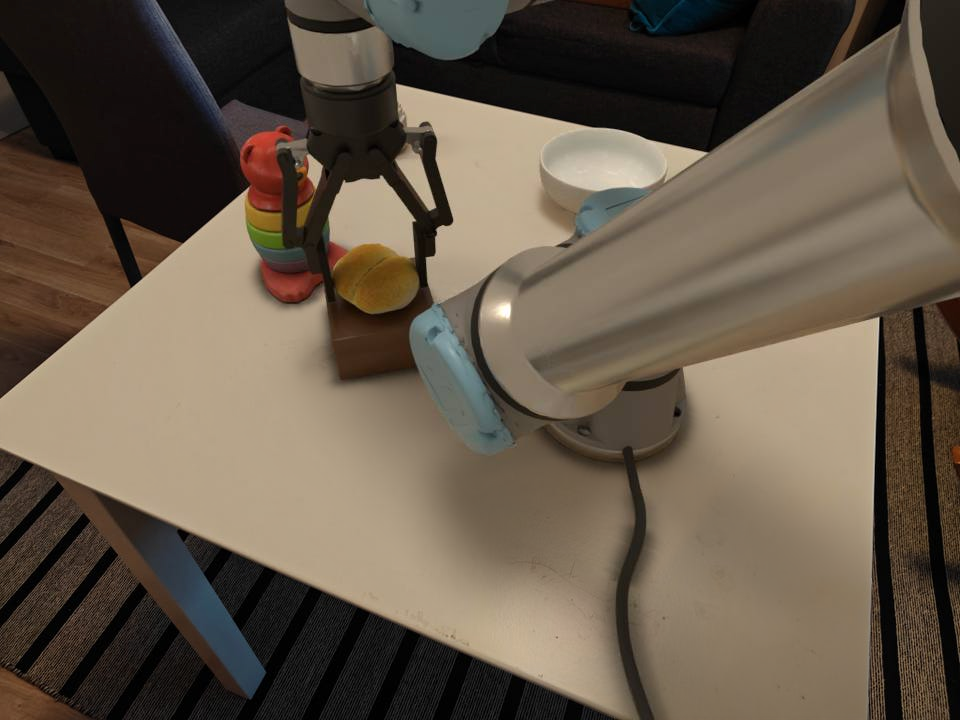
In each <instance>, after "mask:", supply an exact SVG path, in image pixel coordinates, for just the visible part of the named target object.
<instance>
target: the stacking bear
mask: <svg viewBox="0 0 960 720" xmlns="http://www.w3.org/2000/svg"><path fill="white" fill-rule="evenodd" d="M279 138H285V139H287V140H288V141H289V142H292V141H296V140H295V139H294V138H293V137H292V131H291V129H290V127H288V126H286V125H280V126H278V127H276V128H275V130H274V131H262V132H258V133H256V134H254V135H252V136H250V137H249V138H248V139H247V140H246V141H245V143H244V145H242V147H241V149H240V156H239V158H240V159H239V162H240V167H241V170H242V173H243V175H244V177H245V178H246V180H247V181H248V182H249V183H250V185H249V187H248V190H247V192H246V195H245V197H244V212H245V224H246V230H247V234H248V237H249V240H250V242H251V244H252V246H253V247H254V249H255V251H256V252H257V254H258V256H259V257H261V262H260V263H261V265H260V270H261V271H260V272H261V277H262V280H263V283H264V285H265V286H266V289H267V290H268V291H269V292H270V293H271V294H272V295H273V296H274V297H276V298H277V299H279V300H280V301H281V302H284V303H298V302H300V301H302V300H305V299H307V298H308V297H309V296H310V295H311V293H312V292H313V290H314V289H315V287H316V286H317V285H319V284H320V283H322V282H323V276H322V273H321V274H314V275H312V274H311V272H310V271H309V267H308V262H307V258H306V254H305V251H304V250H303V249H302V248H300V247H294V248H292V249H287V248H285V247H284V246H283V244H282V232H281V210H282V172H281V170H280V167H279V165H278V162H277V158H276V146H275V143H276V141H277V139H279ZM309 171H310V163H309V159H308V155H307V156H305V158H304V165H303V167H302V168H301V169H299V170H297V175H298V202H297V228H301V225H304V223H305V220H306V217H307V214H308V211H309V209H310V206H311V203H312V200H313V197H314V194H315V192H316V189H317V187H316V186H315V185H314V183H313V181H312V180H311V179H310V177H308V175H309ZM322 234H323V237H324V242H325V247H326V252H327V257H328V262H329V267H330V270H333V268H334V266H335V264H336V263H337V262H338V261H339V260H340V259H341V258H343V257H344V256H345V255H346V254H347V253H348V252H349V251H348V250H346V249H345V248H343V247H341V246H340V245H339V244H337V243H335V242H333V241H331V240H330V238H331V237H330V236H331V227H330V218H329V216H328V219H327V221H326V224H325V227H324V229H323V232H322Z"/></svg>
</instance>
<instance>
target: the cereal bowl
mask: <svg viewBox="0 0 960 720" xmlns="http://www.w3.org/2000/svg"><path fill="white" fill-rule="evenodd" d="M538 164H539V165H538V166H539V168H538V169H539V177H540V182H541V184H542V187H543V189H544V190H545V193H546V194H547V195H548V196H549V198H550V199H551V200H552V201H553V202H555V203H556V204H557V205H558V206H559V207H561V208H562V209H565V210H566V211H567V212H571V213H573V214H576V215H577V214H578V213H579V209H580V207H581V205H582V203H583V202H584V201H585V200H586V199H587V198H588V197H589V196H591V195H592V194H594V193H597V192H599V191H602V190H606V189H611V188H619V187H633V188H642V189H647V190H654V189H656V188H657V187H658V186H660V185H661V184H663V183H664V182H666V177H667V173H668V170H669V169H668V168H669V167H668V165H669V163H668V160H667V157H666V155H665V153H664V152H663V150H662V149H661V148H660V147H658V145H656V144H655V143H653V142H652V141H650V140H648V139H646V137H645V138H644V137H642V136H640V135H638V134H635V133H632V132H629V131H625V130H620V129H615V128H607V127H588V128H587V127H585V128H578V129H572V130H569V131H566V132H562V133H559V134H557V135H555V136H553V137H551V138H550V139H549V140H548V141H547V142H545V144H544V145H543V147H542V148H541V151H540V155H539V163H538Z"/></svg>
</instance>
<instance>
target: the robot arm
mask: <svg viewBox="0 0 960 720" xmlns="http://www.w3.org/2000/svg"><path fill="white" fill-rule="evenodd" d="M551 1H554V0H284V1H283V2H284V5H285V6H284V7H285V10H286V16H287V23H288V29H289V34H290V39H291V45H292V50H293V55H294V59H295V64H296V65H295V66H296V69H297V71H298V73H299V75H301V76H300V80H299V84H300V89H301V94H302V100H303V106H304V110H305V115H306V120H307V125H308V127H307V128H308V129H307V132H306V134H305V138H302V139H297V140H295V141H292V142H289V141H288V140H287V139H285V138H279V139H277V141H276V143H275V146H276V158H277V162H278V165H279V167H280V170H281V172H282V210H281V232H282V244H283V246H284V247H285V248H287V249H292V248H294V247H300V248H302V249H303V250H304V251H305V254H306V258H307V262H308V267H309V271H310V272H311V274H312V275H314V274H321V273H322V276H323V280H324V283H323V286H324V285H325V289H326V294H327V299H328V303H329V302H335V301H336V300H335V293H334V287H333V283H332V276H331V272H330V267H329V262H328V257H327V252H326V247H325V242H324V237H323V234H322V232H323V229H324V227H325V224H326V221H327V219H328V217H329V216H330V213H331V211H332V209H333V206H334V203H335V200H336V197H337V195H339V193H340V192H341V189H342V186H343V183H344V184H348V183H355V182H357V181H358V182H359V181H360V180H373V181H374V180H380V179H381V176H382V178H383V179H384V180H385V182H386V183H387V185H388V187H390V188H392V189H393V191H394V193H395V194H396V195H397V197H398V198H399V200H400V201H401V203H402V204H403V205H404V206H405V208H406V210H408V212H409V213H410V215H411V216H412V218H413V219H414V221H411V225H412V226H411V227H412V237H413V250H414V257H415V265H416V268H417V270H418V273H419V284H420V287H421V288H424V287H428V285H429V282H428V269H427V268H428V267H427V258H431V257H435V255H436V253H437V245H436V244H437V243H436V237H437V236H438V231H437V229H438V228H441V227H442V226H444V227H450V226H452V225H453V223H454V216H453V213H452V209H451V205H450V203H449V199H448V197H447V196H448V195H447V192H446V190H445V186H444V183H443V182H444V181H443V180H442V179H443V178H442V176H441V172H440V169H439V166H438V163H437V148H438V138H437V135H436V133H435V131H434V128H433V125H432V124H431V122H429V121H422V122H420V123H419V125H418V126H407V127H403V125H402V123H401V122H400V120H399V114H398V103H399V102H398V103H397V101H398V92H397V91H398V90H397V80H396V79H397V78H396V73H395V71H394V70H393V67H394V66H395V55H394V44H393V43H396V44H401V45H402V46H404V47H405V48H407V49H409V48H412V49H414V50H415V51H418V52H420V53H422V54H424V55H426V56H428V57H430V58H433V59H436V60H442V61H454V60H459V59H463V58H466V57H469V56H471V55H472V54H474V53H475V52H477V51H478V50H479V49H480V47H481V46H482V44H484V42H485V41H486V40H487V39H488V38H490V37H492V36H493V35H494V34H495V33H496V32H497V30H498V29H499V27H500V26H501V24H502V22H503V19H504V18H505V15H507V14H511V13H515V12H518V11H521V10H524V9H528V8H530V7H532V6H536V5H540V4H544V3H548V2H549V3H550V2H551ZM393 41H394V42H393ZM405 143H408V144H409V145H410V147H411V149H412V151H413V153H415V154H416V155H418V156H419V157H420V161H421V164H422V167H423V170H424V173H425V177H426V180H427V182H428V186H429V189H430V192H431V195H432V199H433V202H434V205H435V207H434V208H432V209H430V210H429V208H428V206H427V205H426V204H425V202H424V201H423V199H422V198H421V196H420V195H419V194H418V192H417V190H415V188H414V186H413V185H412V184H411V182H410V181H409V179H408V178H407V176H406V175H405V174H404V172H403V170H402V169H401V167H400V166H399V164H398V162H397V160H396V158H397V157H398V155H399V154H400V152H401V151H402V150H403V149H402V148H403V146H404V145H405ZM309 155H310V157H312V158H313V159H314V160H315V161H316V162H318V163H319V164H320V165H321V166H322V168H321V172H320V173H321V174H320V177H319V180H318V183H317V186H316V192H315V194H314V197H313V200H312V203H311V206H310V209H309V211H308V214H307V217H306V220H305V223H304V225H301V228H297V202H298V175H297V170H299V169H301V168H302V167H303V165H304V158H305V156H307V157H308V156H309ZM574 227H575V231H574V232H573V234H572V235H571V236H570V237H569V238H568V239H566V240H564V241H562V242H560V243H558V244H556V245H552V246H551V245H542V246H541V245H540V246H535V247H532V248H527V249H524V250H522V251H520V252H518V253H517V254H515V255H513V256H512V257H510V258H509V259H507V260H506V261H504V262H503V263H502V264H500V265H499V266H498V267H497V268H495V269H494V270H492V271H491V272H490V273H488V274H487V275H486V276H485V277H483V278H482V279H480V280H479V281H478V282H476V283H475V284H473V285H472V286H470V287H469V288H466V289H464V290H463V291H461V292H459V293H458V294H456V295H454V296H452V297H450V298H448V299H446V300H444V301H442V302H440V303H439V302H438V301H437V302H434V303H433V305H432V307H431V308H430V309H428V310H426V311H425V312H423V313H421V314H420V315H418V316H417V317H416V318H415V319H414V320H413V322H412V324H411V327H410V332H409V338H410V345H411V349H412V353H413V356H414V359H415V362H416V365H417V366H416V368H417V369H418V372H419V375H420V377H421V379H422V381H423V384H424V386H425V388H426V389H427V391H428V394H429V395H430V397H431V398H432V401H433V402H434V403H435V405H436V407H437V409H438V410H439V412H440V413H441V415H442V416H443V418H444V420H445V421H446V422H447V424H448V425H449V426H450V428H451V429H452V431H453V432H454V433H455V434H456V436H457V437H458V438H459V439H460V440H461V441H462V442H463V443H464V444H465V445H466V446H467V447H468V448H469V449H471V450H472V451H473V452H475V453H477V454H479V455H482V456H486V457H487V456H494V455H497V454H499V453H501V452H502V451H504V450H506V449H508V448H510V449H513V448H514V447H516V445H517V444H516V442H518V441H519V440H520V439H522V438H524V437H525V436H527V435H529V434H530V433H533V432H535V430H537V429H540V428H543V427H544V428H545V430H546V431H547V432H548V433H549V434H550V435H551V436H552V437H553V438H554V440H556V441H557V442H559V443H560V444H561V445H562V446H564V447H566V448H567V449H569V450H571V451H573V452H575V453H576V454H578V455H580V456H583V457H587V458H589V459H593V460H597V461H601V462H610V463H624V465H625V469H626V475H627V480H628V485H629V489H630V493H631V498H632V501H633V506H634V513H635V514H634V515H635V517H634V518H635V519H634V530H633V535H632V539H631V542H630V546H629V549H628V551H627V553H626V557H625V559H624V561H623V564H622V566H621V567H622V568H621V570H620V572H619V577H618V581H617V586H616V592H615V622H616V624H615V625H616V632H617V633H616V635H617V642H618V647H619V652H620V656H621V660H622V665H623V669H624V672H625V675H626V679H627V682H628V685H629V689H630V692H631V695H632V698H633V701H634V703H635V707H636V709H637V712H638V715H639V718H640V720H656V719H655V717H654V714H653V711H652V709H651V705H650V703H649V701H648V700H649V699H648V697H647V694H646V691H645V689H644V685H643V682H642V680H641V677H640V672H639V670H638V667H637V663H636V659H635V655H634V651H633V645H632V639H631V633H630V624H629V593H630V586H631V581H632V578H633V575H634V572H635V569H636V567H637V563H638V560H639V558H640V556H641V552H642V549H643V546H644V544H645V543H644V542H645V538H646V530H647V507H646V502H645V498H644V494H643V490H642V487H641V483H640V479H639V473H638V468H637V464H636V461H640V460H643V459H646V458H650V457H652V456H654V455H655V454H657V453H659V452H661V451H662V450H664V449H665V448H666V447H667V446H668V445H670V443H671V442H672V441H673V440H674V439H675V437H676V436H677V434H678V432H679V430H680V428H681V425H682V423H683V420H684V418H685V416H686V412H687V403H688V402H687V401H688V399H687V391H686V383H685V373H684V368H685V367H690V366H693V365H696V364H701V363H705V362H708V361H712V360H717V359H720V358H724V357H729V356H733V355H737V354H740V353H744V352H748V351H752V350H755V349H761V348H764V347H767V346H771V345H775V344H779V343H783V342H787V341H791V340H796V339H799V338H803V337H807V336H812V335H814V334H818V333H823V332H827V331H831V330H834V329H837V328H842V327H847V326H850V325H853V324H854V325H855V324H858V323H862V322H865V321H870V320H873V319H877V318H882V317H885V316H891V315H894V314H898V313H901V312H905V311H908V310H913V309H917V308H920V307H925V306H928V305H932V304H937V303H941V302H944V301H948V300H953V299H956V298H960V0H905V5H904V9H903V12H902V16H901V21H900V23H899V24H898V25H896V26H894V27H893V28H892V29H890V30H889V31H887V32H886V33H885V34H882V35H881V36H880V37H878V38H876V39H875V40H873V42H871V43H869V44H868V45H866V46H865V47H863V48H862V49H860V50H858V51H857V52H856V53H854V54H853V55H851V56H849V58H847V59H846V60H844V61H843V62H841V63H840V64H838V65H837V66H835V67H834V68H832V69H831V70H829V71H828V72H827V73H825V74H823V75H822V76H820V77H819V78H817V79H816V80H814V81H813V82H812V83H810V84H808V85H807V86H805V87H804V88H803V89H801V90H800V91H798V92H797V93H795V94H794V95H793V96H790V97H789V98H787V100H785V101H783V102H782V103H780V104H778V105H776V107H774V108H773V109H772V110H770V111H768V112H767V113H766V114H764V115H762V116H761V117H759V118H758V119H757V120H755V121H753V122H752V123H751V124H749V125H748V126H746V127H745V128H743V129H741V130H740V131H738V132H737V133H735V134H734V135H733V136H731V137H730V138H728V139H727V140H726V141H724V142H722V143H721V144H719V145H718V146H716V147H714V149H712V150H711V151H709V152H708V153H705V154H704V155H703V156H701V157H699V159H697V160H696V161H693V163H691V164H689V165H688V166H687V167H685V168H684V169H682V170H681V171H679V172H678V173H676V174H675V175H673V176H672V177H670V178H669V179H667V180H665V181H664V183H663V184H661V185H660V186H658V187H657V188H656V189H654V190H647V189H642V188H633V187H619V188H611V189H606V190H602V191H599V192H597V193H594V194H592V195H591V196H589V197H588V198H587V199H586V200H585V201H584V202H583V203H582V205H581V207H580V209H579V213H578V214H576V215H575V219H574Z"/></svg>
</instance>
